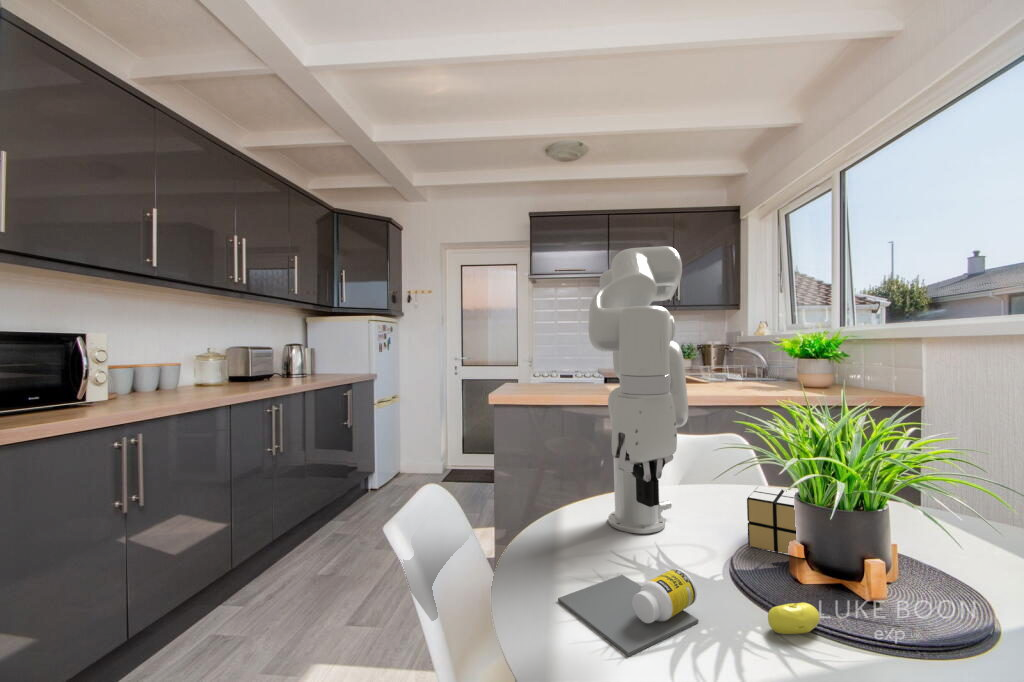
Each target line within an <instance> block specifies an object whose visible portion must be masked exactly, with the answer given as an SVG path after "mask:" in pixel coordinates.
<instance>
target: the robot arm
mask: <svg viewBox="0 0 1024 682" xmlns="http://www.w3.org/2000/svg"><path fill="white" fill-rule="evenodd" d="M682 273H683V263H682V257H681V256H680V254H679V252H678V251H677V250H676V249H675V248H673V247H672V246H667V245H662V246H648V247H646V246H645V247H631V248H627V249H623V250H621V251H620V252H618V253H617V254H616V255H615V256H614V257H613V258H612V261H611V265H610V269H607V270H606V271H604V272H603V273H601V275H600V277H599V290H598V291H597V292H596V293H595V294H594V295H593V297H592V299H591V301H590V304H589V310H588V327H587V328H588V338H589V341H590V343H591V345H592V347H593V348H594V349H596V350H598V351H600V352H612V363H613V371H614V374H615V376H616V377H617V378H618V379H619V386H618V387H615V388H614V389H612V390H611V392H609V395H608V398H607V407H608V413H609V419H610V426H611V454H612V457H613V480H614V481H613V483H614V484H613V485H614V487H613V488H614V491H613V492H614V511H612V512H611V513H610V514H609V515H608V523H609V525H610V526H611V527H613V528H614V529H616V530H618V531H621V532H625V533H629V534H630V533H631V534H640V535H642V534H655V533H657V532H660V531H662V530H664V529H665V527H666V520H665V518H664V517H663V516H662V515H661V514H662V513H663V511H666V510H669V509H670V510H671V509H672V502H671V501H670V500H663V501H661V502H660V490H659V489H660V488H659V485H660V484H659V480H660V479H661V478H662V474H663V469H664V467H665V465H667V464H668V463H670V462H672V461H673V460H674V454H675V453H676V452H677V445H678V432H677V431H678V429H677V428H681V427H683V426H685V425H686V424H687V422H688V419H689V402H688V401H689V399H688V392H687V391H688V389H687V379H686V378H687V377H686V368H685V359H684V354H683V351H682V348H681V346H680V345H679V344H678V343H677V342H675V341H673V340H674V338H675V335H676V326H675V318H674V316H673V315H671V313H670V311H669V310H668V309H667V308H665V307H663V306H660V305H651V304H652V303H653V302H660V301H661V302H662V301H663V302H664V301H669V300H670V299H672V298H673V297H674V295H675V293H676V290H677V288H678V286H679V284H680V282H681V279H682V275H683V274H682Z"/></svg>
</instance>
